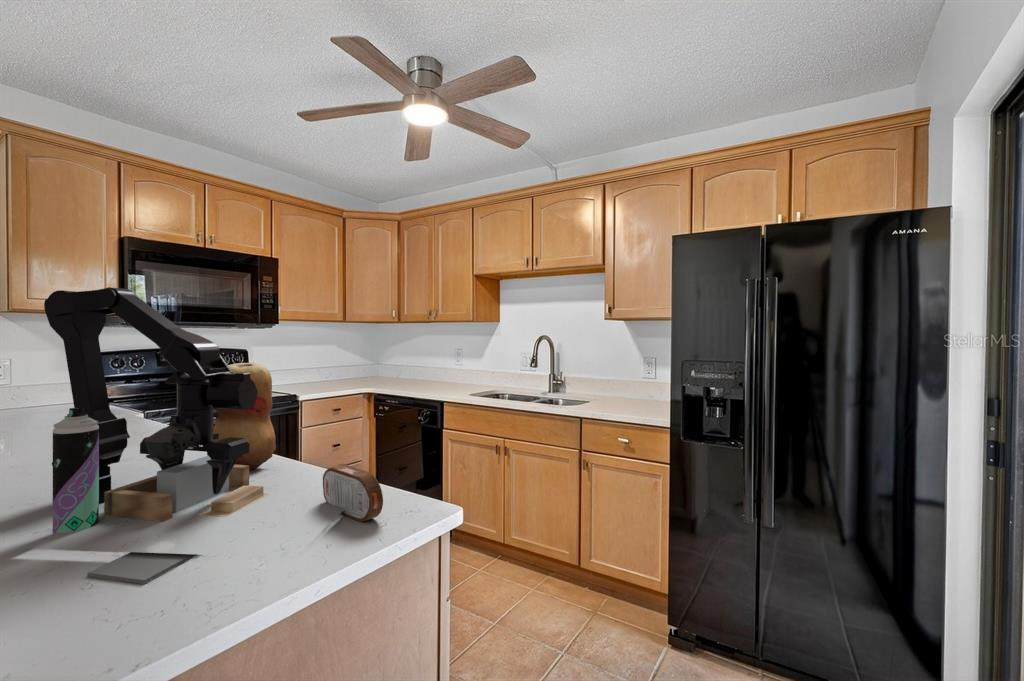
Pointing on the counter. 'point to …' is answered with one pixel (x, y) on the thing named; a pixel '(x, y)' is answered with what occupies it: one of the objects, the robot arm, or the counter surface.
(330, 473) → the tin
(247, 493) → the offcut upper
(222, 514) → the offcut lower
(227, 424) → the butternut squash
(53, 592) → the counter surface
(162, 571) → the mat
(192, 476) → the gray rectangular block
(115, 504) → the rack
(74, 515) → the spray can
